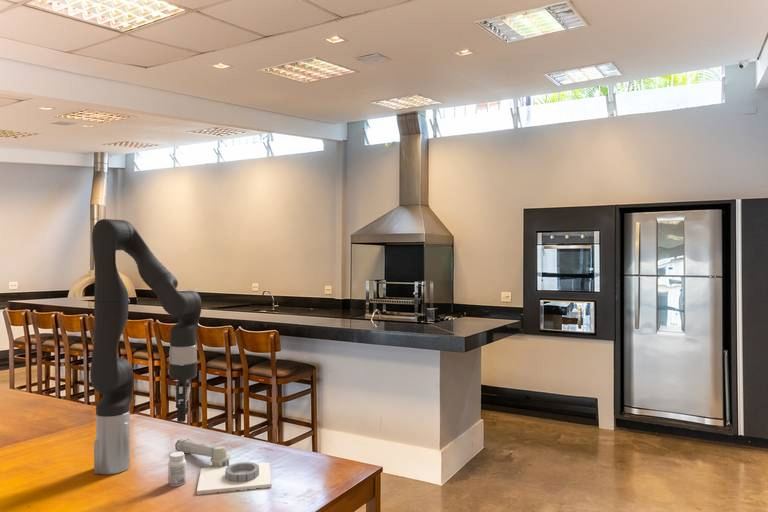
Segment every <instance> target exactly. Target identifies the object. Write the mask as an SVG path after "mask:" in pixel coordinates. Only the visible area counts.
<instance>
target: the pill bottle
mask: <svg viewBox="0 0 768 512" xmlns="http://www.w3.org/2000/svg"><path fill="white" fill-rule="evenodd" d="M185 455H186V453H185V454H184V452H180V451H174V452H171V453H170V454H169V461H168V463H167V465H168V466H167V468H168V469H167V471H168V472H167V473H168V485H169V486H170V487H180V486H183V485H185V484H186V482H187V460H186V459H185Z"/></svg>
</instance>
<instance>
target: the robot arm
mask: <svg viewBox="0 0 768 512" xmlns="http://www.w3.org/2000/svg"><path fill="white" fill-rule="evenodd" d="M91 241H92V243H91V244H92V254H93V265H94V298H93V299H94V302H93V303H94V305H93V306H94V308H93V314H94V315H93V317H94V318H93V319H94V320H93V321H94V322H93V345H92V346H93V347H92V348H93V349H92V356H91V365H90V370H89V371H90V373H89V378H90V384H91V386H92V387H93V389H94V390H95V391H96V392H98V393H99V394H103V395H102V397H101V399H100V400H99V401H98V403H97V404H96V406H95V440H94V443H93V474H97V475H98V474H100V475H114V474H119V473H122V472H124V471H125V472H126V471H127V470H128V469H129V468H130V467H131V440H130V439H131V438H130V437H131V434H130V433H131V429H130V425H131V423H130V421H131V417H130V415H131V413H130V410H131V409H130V408H131V403H132V401H133V395H134V394H133V393H134V370H133V366H132V364H131V363H130V361H129V360H128V359H127V358H125V357H120V356H119V357H118V348H119V343H120V339H121V336H122V334H123V332H124V330H125V326H126V324H127V321H128V316H129V298H130V297H129V293H128V289H127V287H126V285H125V283H124V281H123V279H122V278H121V275H120V274H119V271H118V268H117V263H116V253H117V251H123V252H125V253H126V254H128V256H130V257H131V258H132V259H133V260H134V262H135V263H136V268H137V270H138V273H139V276H140V278H141V279H142V281H143V282H144V283H145V284H146V286H148V287H149V289H151V291H153V293H155V295H156V296H157V299H158V301H159V303H160V304H161V307H162V308H163V310H164V311H165V312H166V313H167V314H169V315H170V316H172V317H175V318H176V317H177V318H179V319H178V321H177V322H176V323H175V324H174V325H172V326H171V327H170V331H169V333H170V334H169V336H170V338H169V347H170V348H169V352H168V355H169V356H168V377H169V379H171V380H176V381H177V382H175V386H174V390H175V391H174V392H175V394H174V395H175V396H174V397H175V408H176V410H177V411H176V414H177V415H176V421H177V423H185V422H186V420H187V413H188V412H189V398H190V395H191V387H192V386H191V382H190V379H194V378H196V377H197V375H198V350H197V329H198V325H199V321H200V316H201V313H202V307H203V305H202V304H203V303H202V298H201V296H200V295H199V293H198V292H196V291H195V290H182V291H180V290H178V289H177V287H178V285H179V284H178V283H179V282H178V280H177V278H176V276H175V275H174V274H173V273H172V272H170V270H169V269H167V268H166V266H164V265H163V264H162V262H160V261H159V259H158V257H156V255H154V253H153V251H152V250H151V248H149V245H147V243H146V242H145V240H144V239H143V237H142V236H141V235H140V233H139V231H138V230H137V229H136V227H135V226H134V225H133V224H132V223H130V221H127V220H123V219H114V218H110V219H109V218H103V219H99V220H98V221H96V222H95V224H94V225H93V228H92V233H91Z"/></svg>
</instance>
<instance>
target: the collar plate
mask: <svg viewBox="0 0 768 512" xmlns="http://www.w3.org/2000/svg"><path fill="white" fill-rule="evenodd" d="M271 475H272V474H271V465H270V462H261V463H260V462H259V463H254V462H249V461H243V462H241V461H240V462H235V463H233V464H229V466H222V467H202V468H201V469H200V474H199V478H198V482H197V489H196V495H206V494H217V492H219V493H227V492H228V491H229V492H237V491H236V490H240V491H248V490H247V489H250V490H257V489H256V488H261V489H268V488H267V487H272V484H273V483H272V476H271Z"/></svg>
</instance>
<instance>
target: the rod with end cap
mask: <svg viewBox="0 0 768 512" xmlns="http://www.w3.org/2000/svg"><path fill="white" fill-rule="evenodd" d="M174 446H175V448H174V449H175V450H176V452H179V451H180V452H184V453H185V454H191V455H196V456H197V455H198V456H203V457H209V458H210V457H211V458H210V462H211V466H213V467H222V466H230V459H231V456H230V455H228V452H227V451H228V450H227V448H226V447H225V446H223V445H221V446H220V445H219V446H213V445H208V444H207V443H206V444H205V443H201V442H197V441H195V440H194V441H193V440H191V439H190V438H186V439H183V438H182V439H181V438H180V439H178V440H177V441H176V442H175V444H174Z"/></svg>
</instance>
